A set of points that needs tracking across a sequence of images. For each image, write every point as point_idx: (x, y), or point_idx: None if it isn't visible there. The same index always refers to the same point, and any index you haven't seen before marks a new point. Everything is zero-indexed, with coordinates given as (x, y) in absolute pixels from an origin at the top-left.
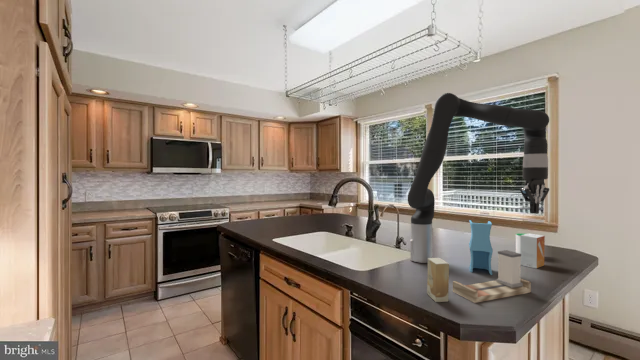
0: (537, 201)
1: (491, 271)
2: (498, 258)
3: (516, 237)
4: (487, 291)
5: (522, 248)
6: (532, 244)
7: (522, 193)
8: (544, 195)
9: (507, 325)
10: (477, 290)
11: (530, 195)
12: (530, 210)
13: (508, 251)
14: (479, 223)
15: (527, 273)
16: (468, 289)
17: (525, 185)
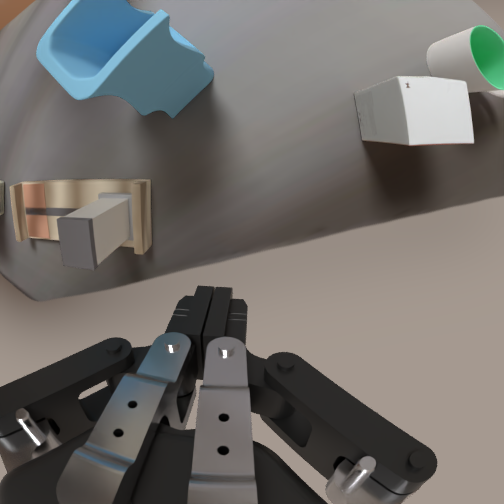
0: (195, 396)
1: (169, 115)
2: (70, 213)
3: (465, 32)
4: (54, 224)
5: (376, 92)
6: (392, 127)
7: (21, 386)
8: (304, 450)
9: (34, 298)
10: (41, 214)
11: (80, 423)
12: (179, 305)
13: (80, 234)
14: (50, 71)
15: (289, 150)
16: (15, 227)
17: (9, 475)
